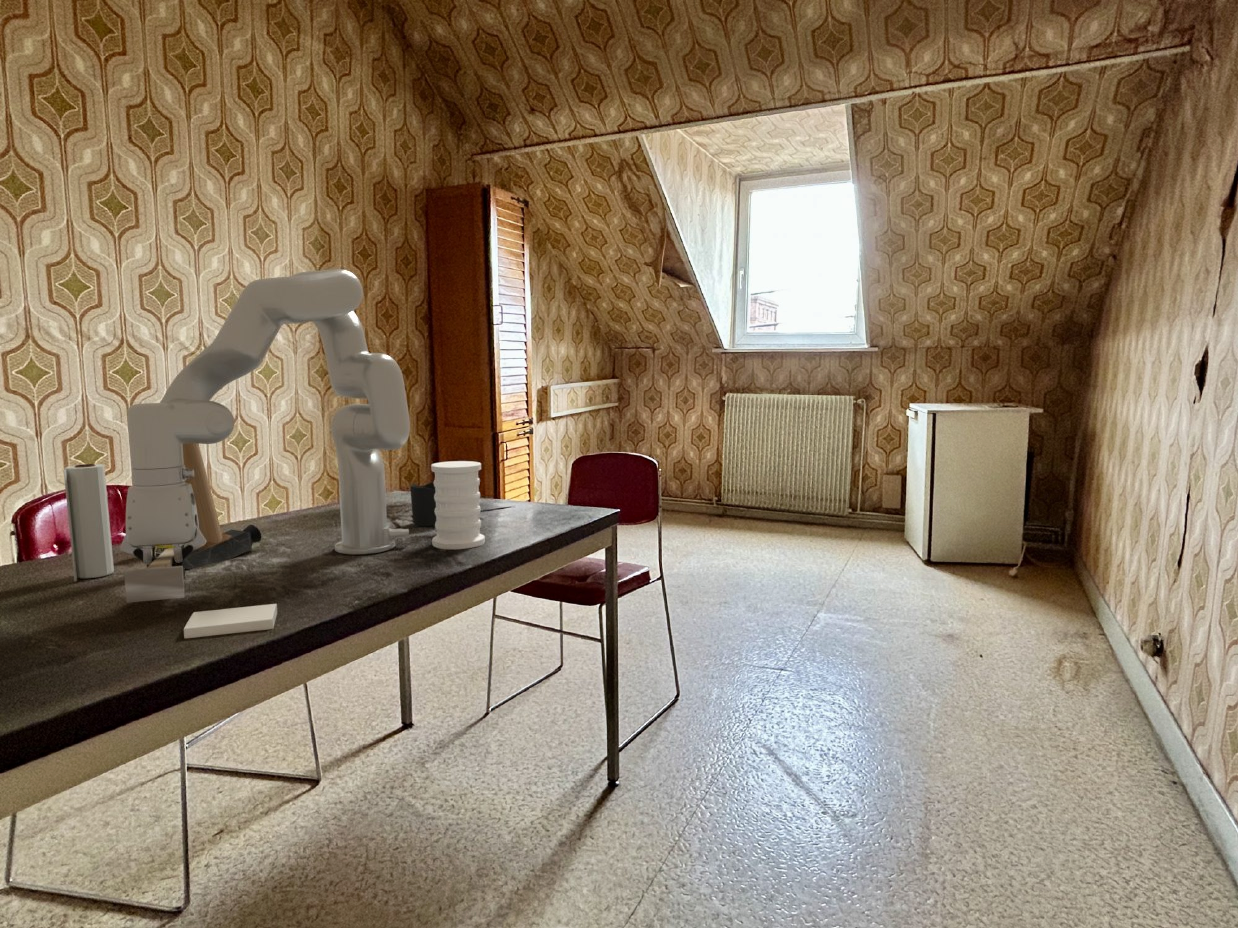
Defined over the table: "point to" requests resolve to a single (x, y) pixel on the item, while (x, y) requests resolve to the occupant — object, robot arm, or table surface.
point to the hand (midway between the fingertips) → (167, 583)
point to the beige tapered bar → (155, 580)
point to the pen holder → (423, 505)
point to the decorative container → (457, 505)
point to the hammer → (212, 519)
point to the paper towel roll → (88, 520)
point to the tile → (231, 620)
